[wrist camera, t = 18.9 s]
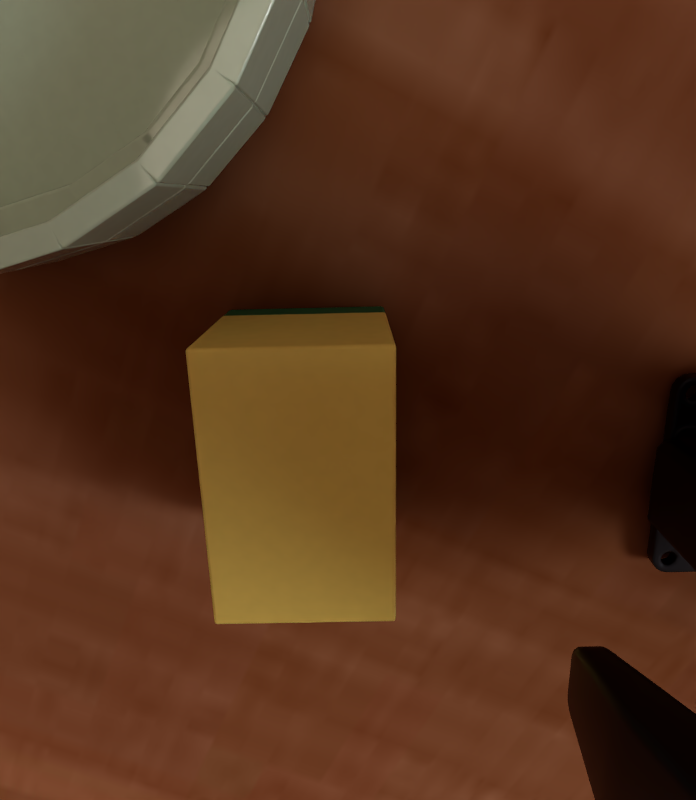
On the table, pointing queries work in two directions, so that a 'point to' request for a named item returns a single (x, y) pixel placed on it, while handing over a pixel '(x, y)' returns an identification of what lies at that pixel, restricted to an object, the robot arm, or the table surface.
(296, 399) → the sponge
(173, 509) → the table surface
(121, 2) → the bowl
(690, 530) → the robot arm
